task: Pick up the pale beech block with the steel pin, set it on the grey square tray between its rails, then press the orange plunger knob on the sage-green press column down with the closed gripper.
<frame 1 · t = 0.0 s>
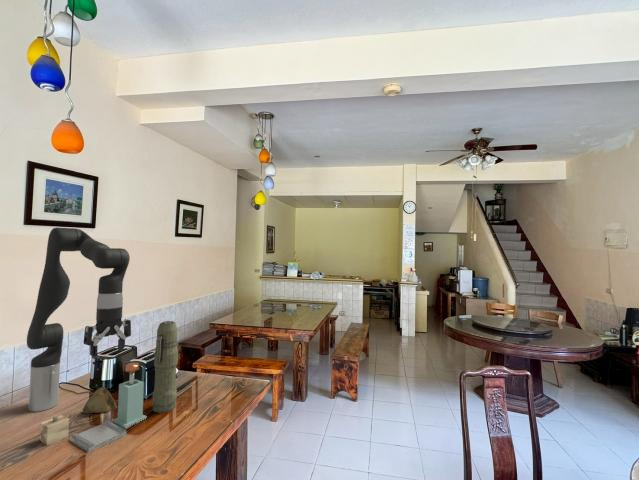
hand: (107, 353, 111), 29 cm above the table, tool pointing down, fingers open, 8 cm apart
rock: (98, 411, 130), on the table
plunger: (131, 381, 123), point 15 cm above the table, slide at 0.0 cm
column: (130, 420, 123), on the table
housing: (54, 438, 110), on the table
grey square tray: (98, 437, 111), on the table
thermos: (164, 408, 133), on the table
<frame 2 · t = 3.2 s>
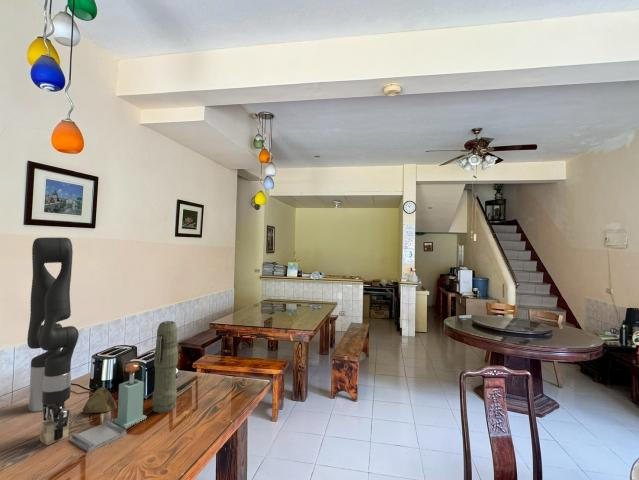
hand: (54, 436, 110), 1 cm above the table, tool pointing down, fingers closed on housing, 5 cm apart
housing: (54, 438, 110), on the table, touching gripper
everything else where it was.
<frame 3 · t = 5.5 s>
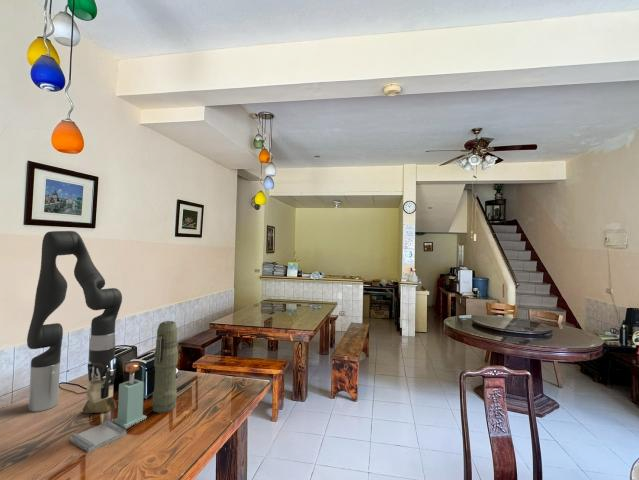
hand: (100, 395, 112), 14 cm above the table, tool pointing down, fingers closed on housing, 5 cm apart
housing: (99, 397, 112), point 14 cm above the table, touching gripper
everything else where it was.
when the fingers open (3 cm above the table, at t = 7.9 s): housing drops 1 cm, resting on grey square tray.
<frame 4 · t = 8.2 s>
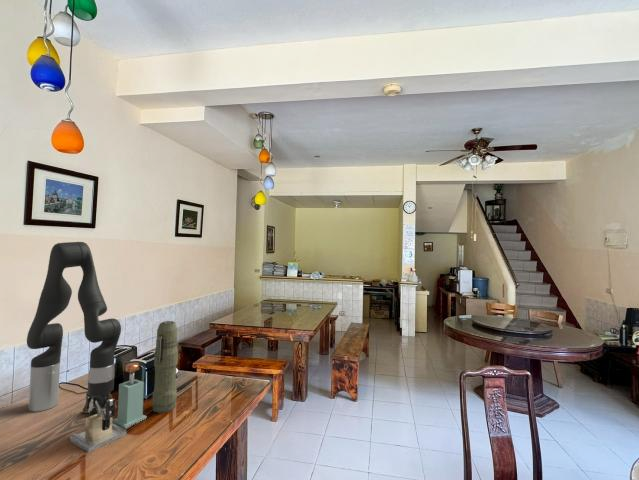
hand: (99, 425, 112), 4 cm above the table, tool pointing down, fingers open, 8 cm apart
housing: (98, 434, 112), point 1 cm above the table, touching grey square tray
everything else where it was.
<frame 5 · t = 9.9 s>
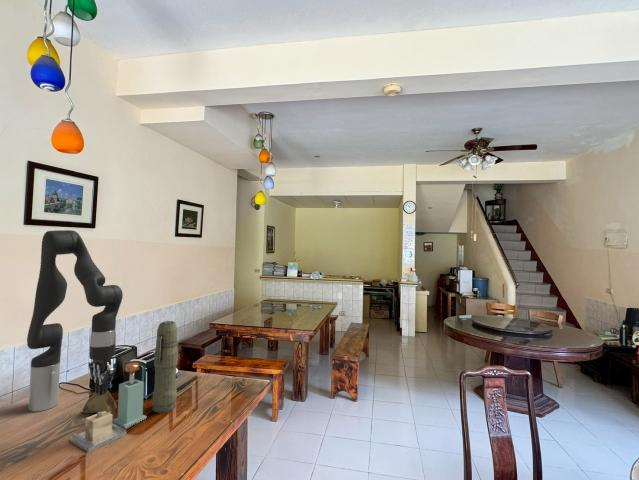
hand: (100, 393, 112), 15 cm above the table, tool pointing down, fingers closed
nothing on the table moved.
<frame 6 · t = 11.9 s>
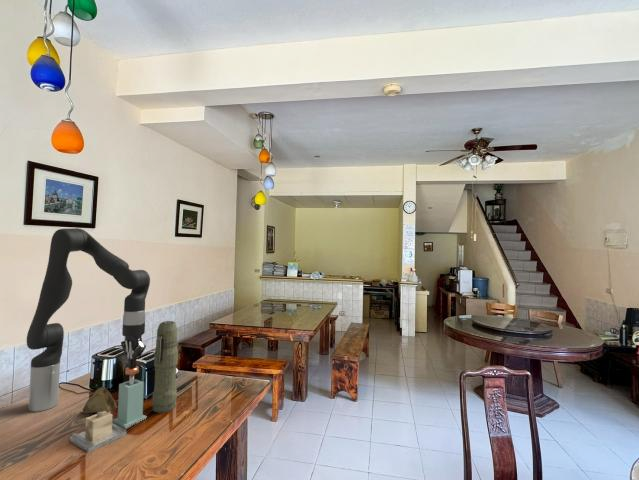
hand: (132, 367, 124), 20 cm above the table, tool pointing down, fingers closed
plunger: (131, 385, 123), point 13 cm above the table, slide at 1.2 cm, touching gripper
everything else where it was.
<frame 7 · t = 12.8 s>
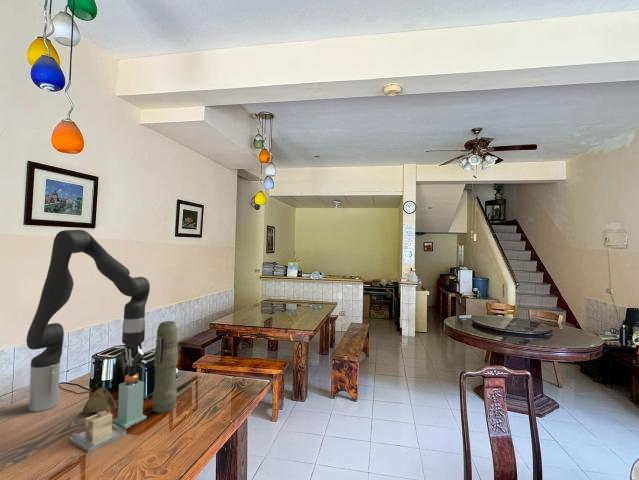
hand: (131, 375, 123), 17 cm above the table, tool pointing down, fingers closed
plunger: (131, 392, 123), point 11 cm above the table, slide at 3.9 cm, touching gripper
everything else where it was.
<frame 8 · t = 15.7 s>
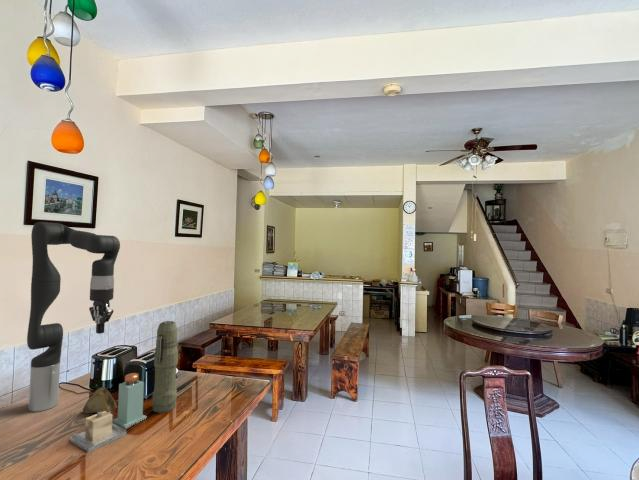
hand: (100, 333, 123), 33 cm above the table, tool pointing down, fingers closed
plunger: (131, 392, 123), point 11 cm above the table, slide at 4.0 cm
everything else where it was.
at the end: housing inside the target area on the grey square tray (0.1 cm from its centre), point 1.2 cm above the grey square tray's base; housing tilted 0°; plunger slide at 4.0 cm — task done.
